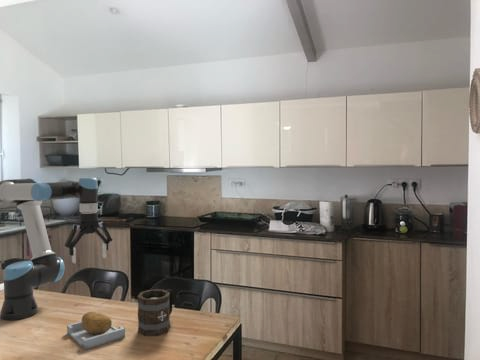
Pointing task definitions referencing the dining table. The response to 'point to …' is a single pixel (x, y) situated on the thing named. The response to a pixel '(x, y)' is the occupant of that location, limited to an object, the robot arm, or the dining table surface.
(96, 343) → the light blue shallow tray
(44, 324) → the dining table surface
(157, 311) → the mug
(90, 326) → the potato
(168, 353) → the dining table surface
